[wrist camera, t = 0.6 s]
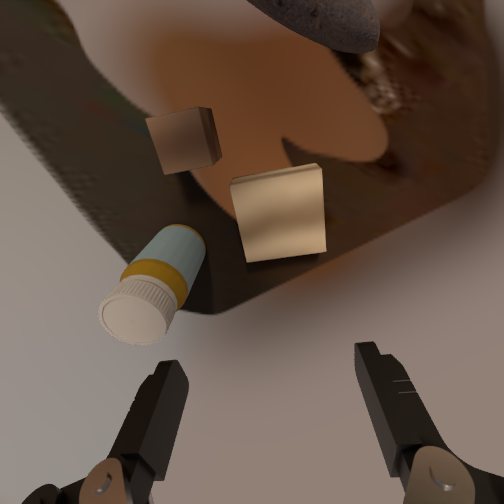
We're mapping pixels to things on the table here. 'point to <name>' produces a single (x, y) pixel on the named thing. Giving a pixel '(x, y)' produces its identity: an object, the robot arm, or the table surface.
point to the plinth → (280, 212)
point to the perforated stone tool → (328, 21)
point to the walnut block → (185, 139)
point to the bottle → (154, 286)
